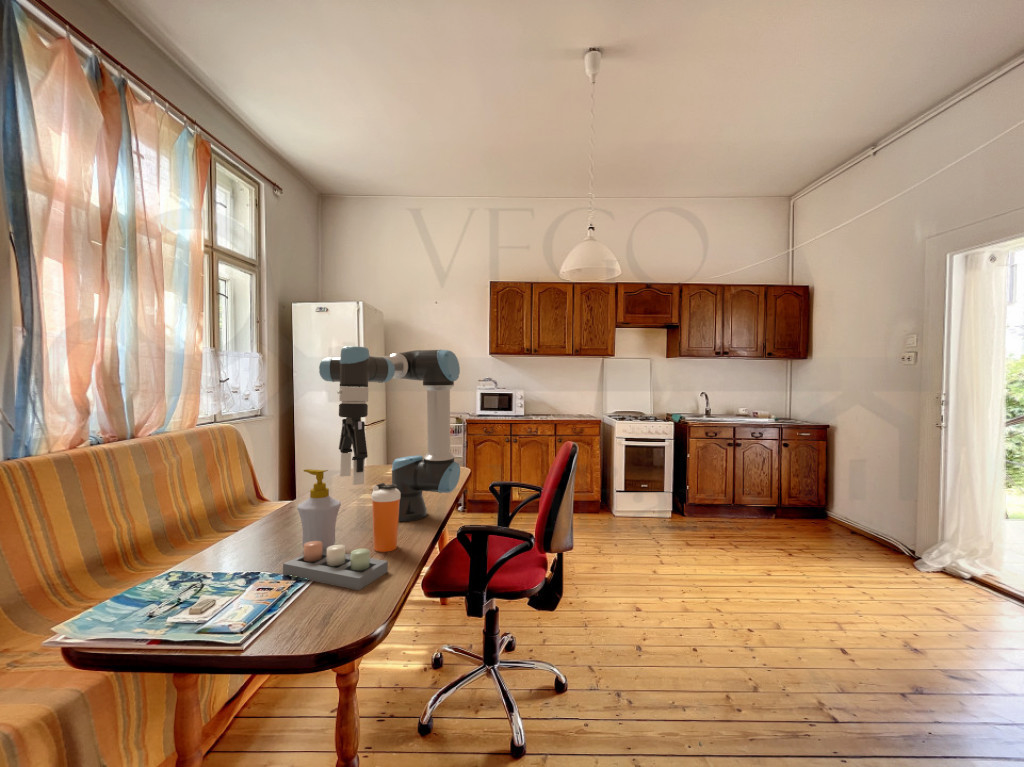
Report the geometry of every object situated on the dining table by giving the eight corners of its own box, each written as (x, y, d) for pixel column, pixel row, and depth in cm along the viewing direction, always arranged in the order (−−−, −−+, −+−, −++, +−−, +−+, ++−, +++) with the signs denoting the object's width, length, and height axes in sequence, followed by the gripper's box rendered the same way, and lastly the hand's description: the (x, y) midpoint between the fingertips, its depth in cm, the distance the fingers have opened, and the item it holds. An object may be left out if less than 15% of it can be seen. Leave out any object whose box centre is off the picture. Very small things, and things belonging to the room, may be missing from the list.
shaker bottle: (392, 554, 139) (392, 488, 139) (365, 551, 141) (366, 487, 140) (404, 544, 147) (405, 482, 147) (379, 542, 149) (379, 480, 149)
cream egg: (335, 557, 128) (335, 543, 128) (349, 560, 126) (349, 546, 126) (322, 564, 123) (322, 549, 123) (336, 566, 122) (337, 552, 122)
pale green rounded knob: (358, 562, 125) (358, 547, 125) (373, 564, 123) (373, 549, 123) (346, 568, 120) (346, 553, 120) (361, 571, 119) (361, 556, 119)
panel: (316, 558, 135) (316, 548, 135) (387, 571, 126) (387, 561, 126) (283, 574, 123) (283, 563, 123) (359, 590, 115) (359, 578, 115)
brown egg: (312, 553, 130) (312, 540, 130) (326, 556, 129) (326, 542, 129) (299, 560, 126) (299, 545, 126) (313, 562, 124) (313, 547, 124)
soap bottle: (313, 539, 151) (314, 465, 150) (348, 543, 148) (349, 467, 148) (287, 553, 138) (288, 472, 138) (324, 557, 136) (325, 474, 135)
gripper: (329, 401, 134) (327, 473, 134) (351, 404, 113) (349, 489, 113) (355, 401, 138) (353, 471, 138) (381, 404, 117) (379, 486, 117)
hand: (351, 480), depth 125 cm, fingers open, 13 cm apart
